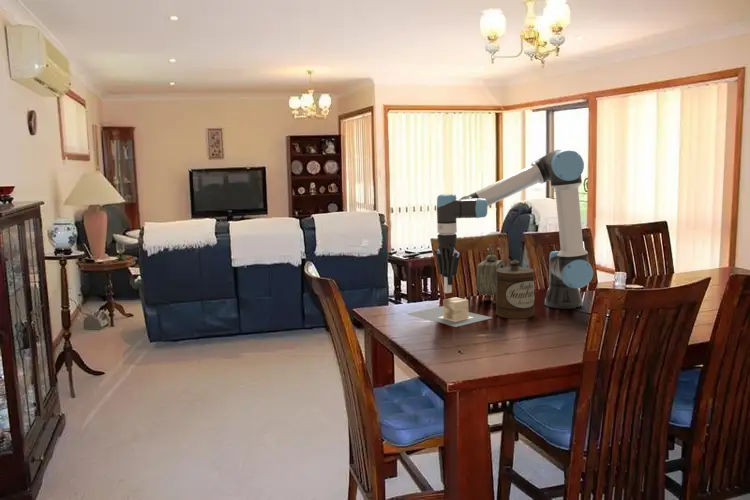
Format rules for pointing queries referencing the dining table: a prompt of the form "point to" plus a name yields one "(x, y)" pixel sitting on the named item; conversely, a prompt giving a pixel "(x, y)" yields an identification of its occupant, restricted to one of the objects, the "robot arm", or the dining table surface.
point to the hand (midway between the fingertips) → (448, 292)
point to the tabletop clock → (488, 274)
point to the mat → (437, 316)
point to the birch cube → (455, 308)
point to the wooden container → (515, 291)
